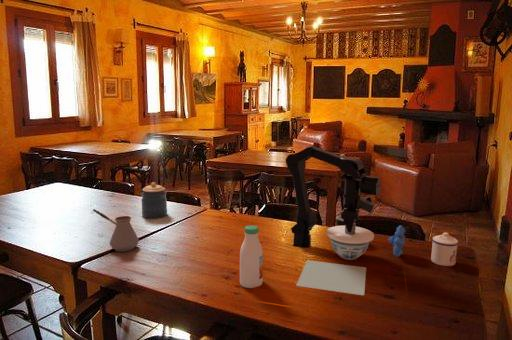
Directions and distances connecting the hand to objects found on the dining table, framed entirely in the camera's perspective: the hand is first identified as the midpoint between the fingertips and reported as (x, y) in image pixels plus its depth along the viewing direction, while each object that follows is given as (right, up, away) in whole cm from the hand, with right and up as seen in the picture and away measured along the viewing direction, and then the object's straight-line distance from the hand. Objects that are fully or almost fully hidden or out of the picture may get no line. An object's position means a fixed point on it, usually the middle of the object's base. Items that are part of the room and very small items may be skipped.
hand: (349, 230), depth 159 cm
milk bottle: (-38, -15, -21) cm, 46 cm away
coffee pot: (-95, -9, +11) cm, 96 cm away
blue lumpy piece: (+20, -11, +6) cm, 23 cm away
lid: (0, -2, 0) cm, 2 cm away
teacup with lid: (+37, -12, 0) cm, 38 cm away
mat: (-10, -14, -16) cm, 23 cm away
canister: (-89, 0, +55) cm, 105 cm away
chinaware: (0, -11, +2) cm, 11 cm away
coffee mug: (+3, -7, +23) cm, 24 cm away
